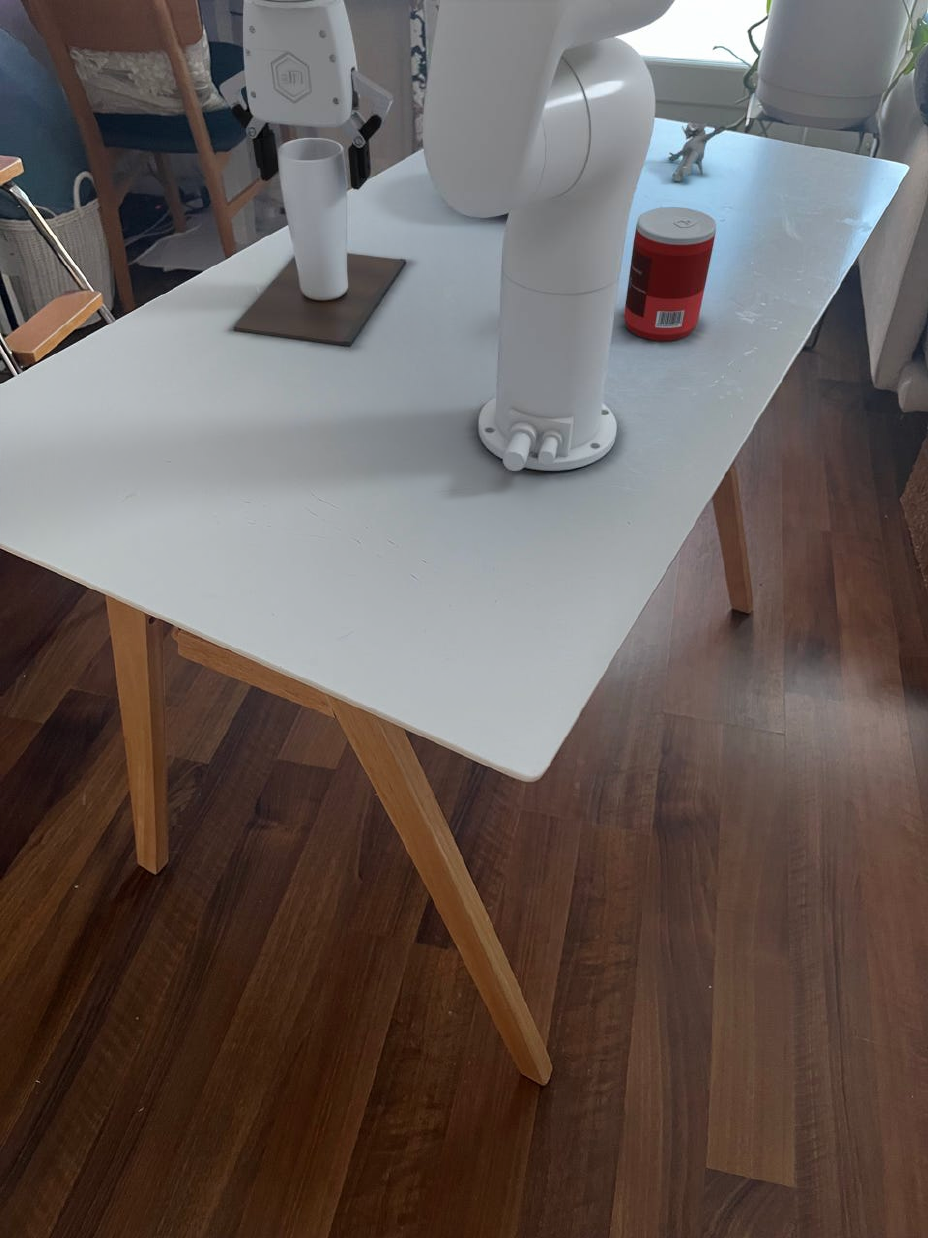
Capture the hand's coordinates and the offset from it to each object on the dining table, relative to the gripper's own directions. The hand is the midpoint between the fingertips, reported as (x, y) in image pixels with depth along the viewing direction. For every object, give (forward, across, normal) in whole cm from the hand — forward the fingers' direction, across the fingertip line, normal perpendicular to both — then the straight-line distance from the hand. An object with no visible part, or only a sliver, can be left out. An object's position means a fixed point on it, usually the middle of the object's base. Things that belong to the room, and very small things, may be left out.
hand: (314, 180), depth 95 cm
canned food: (+13, +36, +3) cm, 39 cm away
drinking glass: (+12, 0, 0) cm, 12 cm away
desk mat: (+12, 0, 0) cm, 13 cm away
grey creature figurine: (+13, +36, +48) cm, 62 cm away
